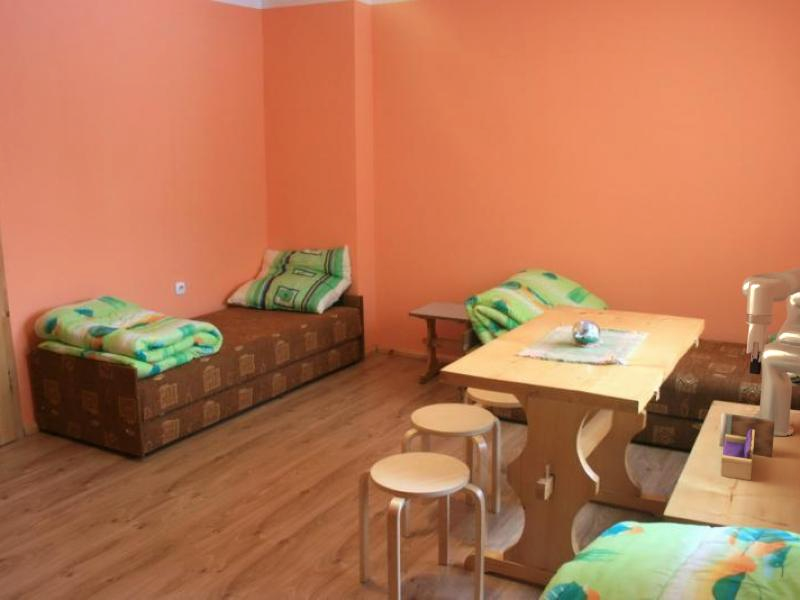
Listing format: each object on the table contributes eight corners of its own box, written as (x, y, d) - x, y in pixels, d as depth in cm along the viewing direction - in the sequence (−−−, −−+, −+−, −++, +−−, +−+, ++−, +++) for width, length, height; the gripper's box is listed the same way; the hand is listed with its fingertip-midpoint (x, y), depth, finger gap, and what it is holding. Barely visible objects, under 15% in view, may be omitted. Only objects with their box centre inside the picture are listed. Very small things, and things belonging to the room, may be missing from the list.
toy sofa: (723, 453, 236) (725, 423, 234) (752, 457, 232) (755, 427, 230) (719, 477, 217) (721, 445, 216) (751, 482, 213) (753, 449, 212)
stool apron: (729, 450, 237) (731, 416, 235) (730, 449, 238) (732, 414, 236) (771, 457, 231) (774, 422, 229) (772, 455, 232) (774, 420, 230)
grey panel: (719, 443, 243) (721, 412, 241) (769, 451, 235) (771, 419, 233) (719, 445, 241) (720, 414, 239) (768, 453, 233) (771, 421, 231)
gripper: (748, 314, 242) (744, 366, 245) (744, 322, 229) (740, 377, 232) (773, 315, 238) (769, 369, 241) (770, 324, 225) (766, 380, 229)
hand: (755, 373), depth 237 cm, fingers closed
